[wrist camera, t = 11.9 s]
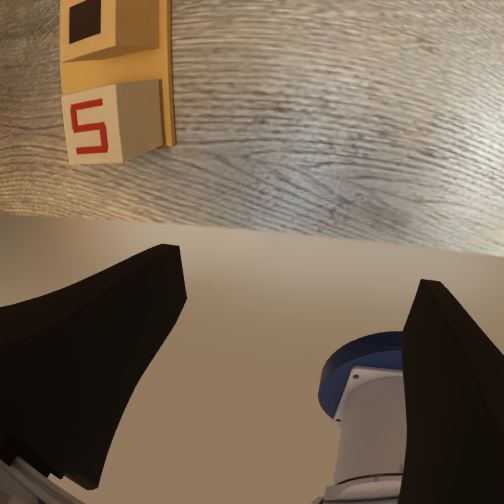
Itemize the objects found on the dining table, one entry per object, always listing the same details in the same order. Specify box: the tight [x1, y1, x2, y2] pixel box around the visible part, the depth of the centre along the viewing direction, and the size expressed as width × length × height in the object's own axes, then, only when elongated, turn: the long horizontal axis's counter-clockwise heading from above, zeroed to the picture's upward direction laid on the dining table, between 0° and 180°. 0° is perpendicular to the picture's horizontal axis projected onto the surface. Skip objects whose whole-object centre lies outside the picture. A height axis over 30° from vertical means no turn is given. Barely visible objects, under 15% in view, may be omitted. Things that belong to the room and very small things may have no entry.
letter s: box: [61, 79, 163, 165], centre depth 15 cm, size 4×4×4 cm
